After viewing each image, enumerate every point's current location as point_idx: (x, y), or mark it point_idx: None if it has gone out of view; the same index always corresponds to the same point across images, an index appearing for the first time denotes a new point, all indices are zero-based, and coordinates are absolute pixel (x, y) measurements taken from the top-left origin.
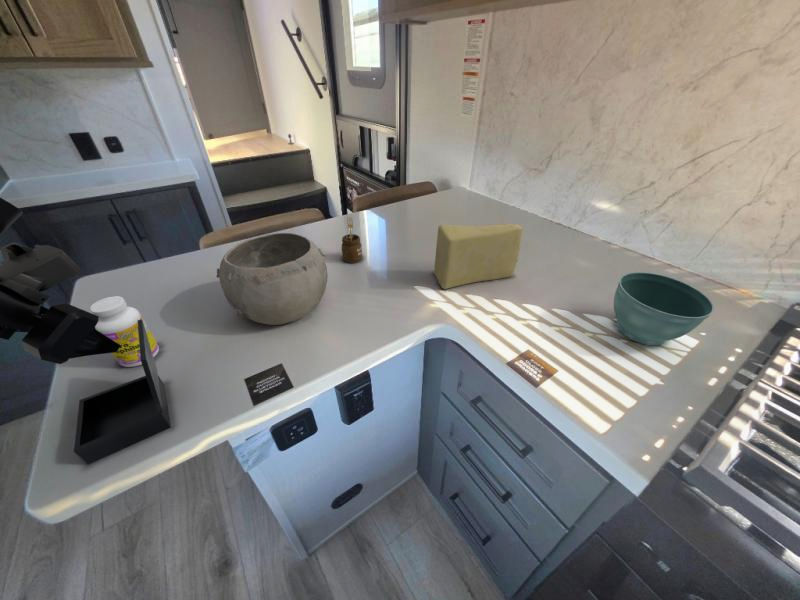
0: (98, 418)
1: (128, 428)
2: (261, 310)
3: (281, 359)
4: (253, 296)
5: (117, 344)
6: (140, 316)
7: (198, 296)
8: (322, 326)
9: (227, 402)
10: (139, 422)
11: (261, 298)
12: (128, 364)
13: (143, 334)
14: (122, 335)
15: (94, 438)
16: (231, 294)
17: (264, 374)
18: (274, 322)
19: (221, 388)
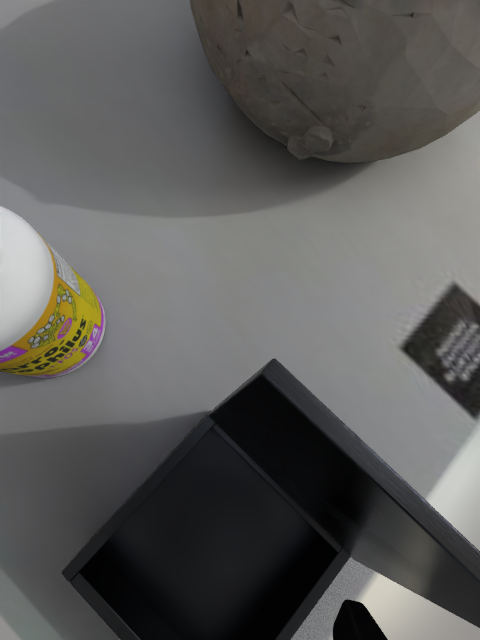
0: (128, 562)
1: (302, 622)
2: (417, 131)
3: (445, 270)
4: (435, 78)
5: (380, 633)
6: (39, 235)
7: (47, 71)
8: (473, 147)
9: (409, 425)
10: (318, 596)
11: (457, 84)
12: (59, 374)
13: (400, 477)
14: (36, 338)
15: (172, 621)
16: (328, 73)
17: (437, 324)
18: (389, 157)
19: (364, 387)
